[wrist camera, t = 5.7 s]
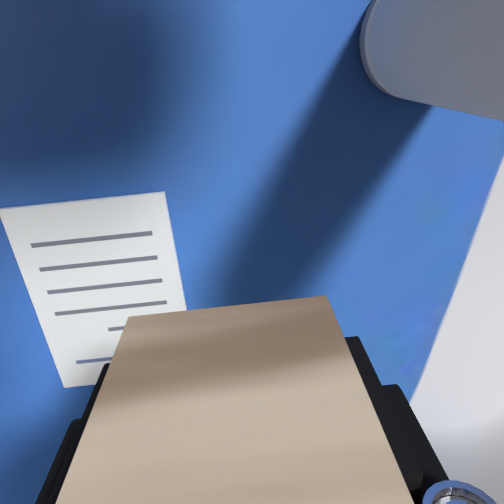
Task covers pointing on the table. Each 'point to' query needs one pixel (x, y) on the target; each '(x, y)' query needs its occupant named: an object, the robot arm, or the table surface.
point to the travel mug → (437, 52)
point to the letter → (94, 273)
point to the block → (234, 414)
